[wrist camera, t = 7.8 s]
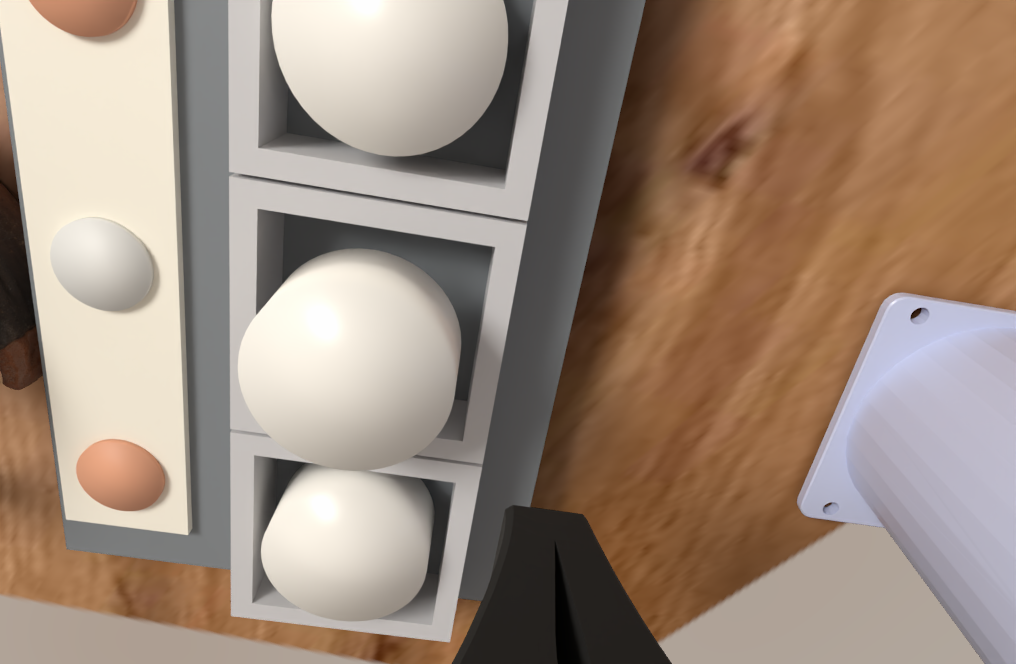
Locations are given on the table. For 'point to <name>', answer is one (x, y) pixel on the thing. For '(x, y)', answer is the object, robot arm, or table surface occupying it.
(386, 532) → the button
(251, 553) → the button board
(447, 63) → the button
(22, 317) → the brown broken pot
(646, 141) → the table surface
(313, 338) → the button middle
